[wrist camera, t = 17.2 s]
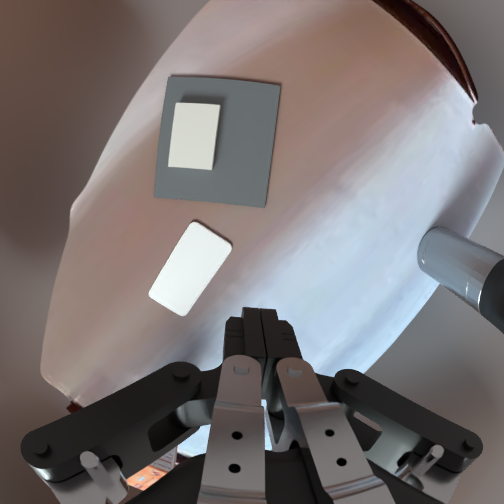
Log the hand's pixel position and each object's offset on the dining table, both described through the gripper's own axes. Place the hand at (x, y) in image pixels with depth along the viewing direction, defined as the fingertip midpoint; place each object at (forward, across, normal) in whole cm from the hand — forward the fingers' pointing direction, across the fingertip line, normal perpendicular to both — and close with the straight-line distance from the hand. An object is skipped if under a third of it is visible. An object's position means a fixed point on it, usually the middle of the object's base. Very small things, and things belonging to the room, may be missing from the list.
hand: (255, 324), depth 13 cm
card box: (+28, +5, -10) cm, 30 cm away
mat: (+29, +5, -10) cm, 31 cm away
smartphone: (+30, +7, +10) cm, 32 cm away
